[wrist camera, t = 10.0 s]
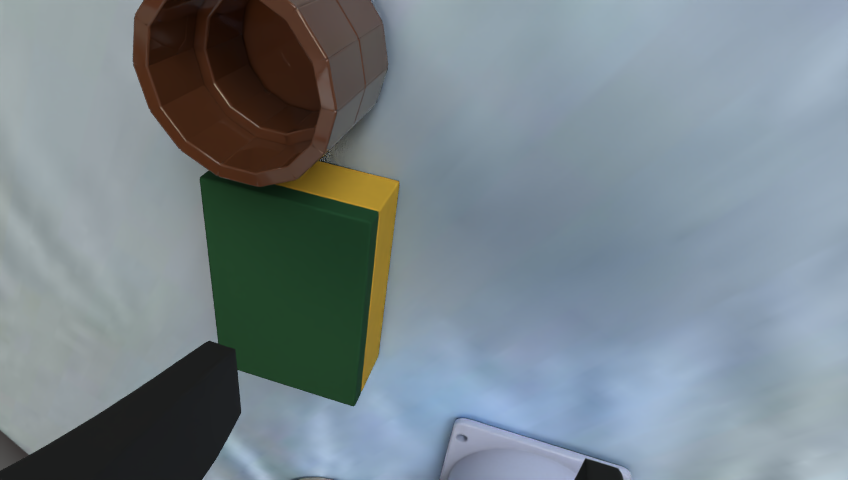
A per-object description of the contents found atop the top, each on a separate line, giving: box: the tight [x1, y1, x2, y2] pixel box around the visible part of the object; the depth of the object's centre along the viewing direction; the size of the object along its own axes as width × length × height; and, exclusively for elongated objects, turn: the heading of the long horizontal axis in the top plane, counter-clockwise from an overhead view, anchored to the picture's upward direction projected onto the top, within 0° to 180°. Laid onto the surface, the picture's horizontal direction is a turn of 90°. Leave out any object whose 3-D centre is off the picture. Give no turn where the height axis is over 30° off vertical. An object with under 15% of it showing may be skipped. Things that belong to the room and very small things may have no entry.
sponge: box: [200, 161, 399, 406], centre depth 21 cm, size 9×6×3 cm, turn 172°
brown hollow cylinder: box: [133, 0, 388, 187], centre depth 16 cm, size 6×6×5 cm
